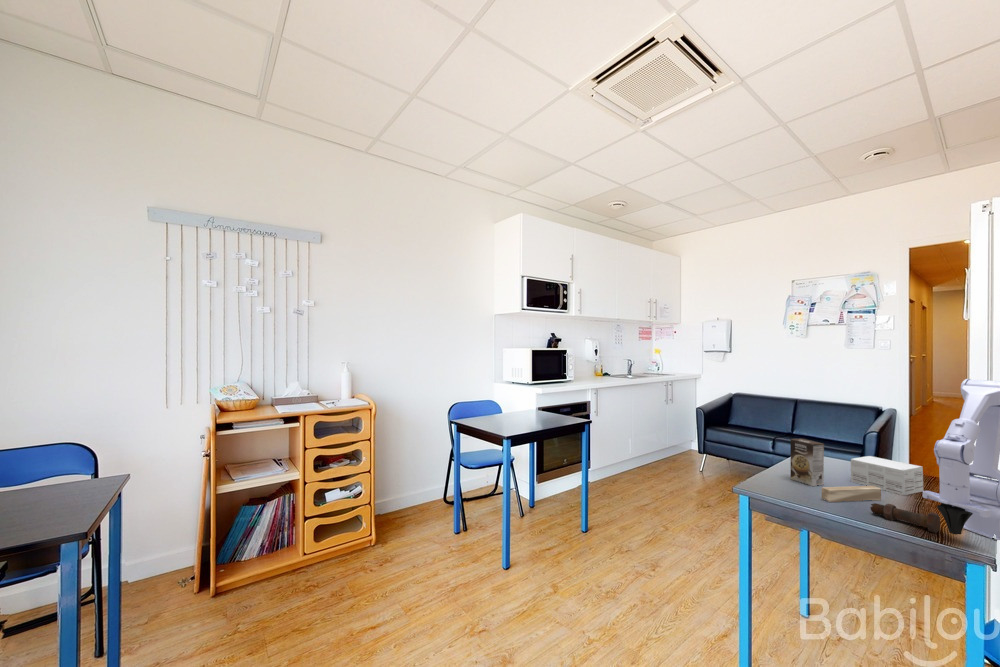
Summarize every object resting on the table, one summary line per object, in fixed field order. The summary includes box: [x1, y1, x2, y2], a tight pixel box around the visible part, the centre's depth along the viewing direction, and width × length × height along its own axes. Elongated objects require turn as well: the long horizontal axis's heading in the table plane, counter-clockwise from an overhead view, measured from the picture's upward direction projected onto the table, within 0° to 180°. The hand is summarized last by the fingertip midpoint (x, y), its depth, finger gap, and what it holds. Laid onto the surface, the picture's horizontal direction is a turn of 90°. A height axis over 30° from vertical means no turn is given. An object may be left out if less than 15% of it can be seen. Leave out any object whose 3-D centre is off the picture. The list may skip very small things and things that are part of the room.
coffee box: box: [790, 438, 825, 487], centre depth 166 cm, size 9×6×16 cm
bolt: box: [869, 502, 941, 534], centre depth 129 cm, size 6×5×15 cm
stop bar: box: [821, 485, 882, 503], centre depth 147 cm, size 3×20×4 cm, turn 97°
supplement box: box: [850, 455, 924, 496], centre depth 162 cm, size 17×13×9 cm
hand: (955, 533), depth 117 cm, fingers closed
